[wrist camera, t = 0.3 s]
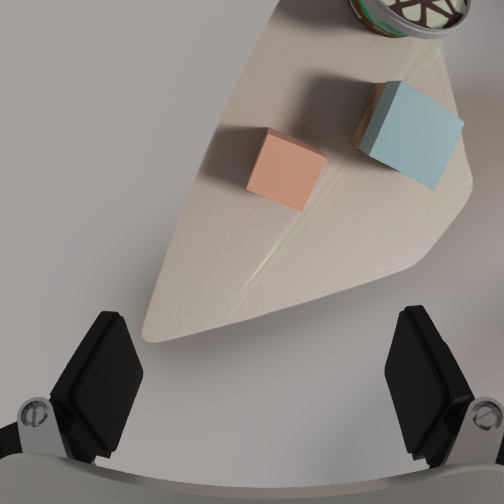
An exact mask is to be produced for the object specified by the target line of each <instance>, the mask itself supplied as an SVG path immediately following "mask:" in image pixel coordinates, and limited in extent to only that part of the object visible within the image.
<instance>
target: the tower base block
mask: <svg viewBox="0 0 504 504" xmlns="http://www.w3.org/2000/svg"><path fill="white" fill-rule="evenodd" d="M385 85H386V83H375V85H374V87H373V90H372V92H371V94H370V97H369V99H368V101H367V104H366V106H365V108H364V111H363V113H362V115H361V118H360V120H359V122H358V124H357V127H356V129H355V131H354V133H353V136H352V138H351V140H350V142H349V144H350V145H351V146H353V147H354V148H356V149H357V150H359V151H361V150H360V149H358V147H359V145H360V143H361V140H362V138H363V136H364V134H365V131H366V129H367V127H368V125H369V122H370V120H371V118H372V115H373V113H374V111H375V108H376V106H377V104H378V101H379V99H380V97H381V94H382V92H383V89H384V87H385ZM361 152H363V151H361ZM363 153H364V152H363ZM365 154H366V153H365Z"/></svg>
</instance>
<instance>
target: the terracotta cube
mask: <svg viewBox="0 0 504 504" xmlns="http://www.w3.org/2000/svg"><path fill="white" fill-rule="evenodd" d="M325 160H326V157H325V155H324V154H323V153H322V152H321V151H320V149H319V148H318V147H315V146H313V145H311V144H308V143H306V142H304V141H301V140H299V139H296V138H294V137H291V136H289V135H287V134H284V133H281V132H279V131H276V130H274V129H271V128H268V130H267V133H266V135H265V138H264V140H263V143H262V145H261V148H260V150H259V153H258V155H257V158H256V160H255V163H254V165H253V168H252V171H251V173H250V176H249V180H248V184H247V187H246V190H248V191H250V192H253V193H256V194H258V195H261V196H264V197H266V198H269V199H272V200H274V201H277V202H279V203H282V204H284V205H287V206H290V207H292V208H295V209H297V210H300V211H302V210H303V208H304V206H305V204H306V201H307V199H308V197H309V195H310V193H311V191H312V189H313V186H314V184H315V182H316V180H317V178H318V176H319V173H320V171H321V169H322V167H323V165H324V162H325Z"/></svg>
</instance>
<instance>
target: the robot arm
mask: <svg viewBox="0 0 504 504" xmlns="http://www.w3.org/2000/svg"><path fill="white" fill-rule="evenodd" d="M142 378H143V369H142V366H141V364H140V361H139V358H138V356H137V353H136V351H135V348H134V345H133V343H132V340H131V337H130V334H129V332H128V329H127V326H126V323H125V320H124V318H123V317H122V316H120V315H119V313H118V312H111V311H102V312H101V313H100V314H99V316H98V317H97V319H96V320H95V322H94V323H93V325H92V326H91V328H90V329H89V331H88V332H87V334H86V335H85V337H84V339H83V340H82V342H81V343H80V345H79V347H78V348H77V350H76V351H75V353H74V355H73V356H72V358H71V359H70V361H69V363H68V364H67V366H66V368H65V369H64V371H63V373H62V374H61V376H60V378H59V379H58V381H57V383H56V385H55V386H54V388H53V390H52V392H51V393H50V395H51V398H50V399H49V401H48V400H47V399H45V398H42V397H35V398H31V399H30V400H28V401H26V402H25V403H24V404H23V405H22V406H21V408H20V409H19V411H18V414H17V422H14V423H12V424H10V425H8V426H5V427H3V428H1V429H0V504H504V407H503V406H502V405H501V404H500V403H499V402H498V401H497V400H495V399H493V398H490V397H480V398H477V399H475V398H474V396H473V393H472V391H471V390H470V388H469V385H468V383H467V381H466V379H465V377H464V375H463V374H462V371H461V370H460V368H459V366H458V364H457V362H456V360H455V358H454V356H453V355H452V353H451V351H450V349H449V347H448V345H447V344H446V343H445V342H444V341H443V340H442V338H441V336H440V334H439V332H438V331H437V329H436V327H435V326H434V324H433V322H432V320H431V319H430V317H429V315H428V314H427V312H426V310H425V308H424V307H423V306H422V305H416V306H407V307H405V309H404V311H401V312H400V313H399V317H398V321H397V325H396V329H395V333H394V337H393V340H392V344H391V347H390V351H389V354H388V358H387V361H386V365H385V378H386V381H387V384H388V387H389V390H390V393H391V397H392V400H393V403H394V407H395V410H396V414H397V417H398V420H399V424H400V428H401V431H402V435H403V439H404V442H405V446H406V450H407V452H408V453H409V454H410V453H412V456H413V459H414V461H415V460H419V459H423V458H425V459H426V462H427V464H428V466H427V468H426V469H425V470H421V471H417V472H412V473H407V474H403V475H397V476H392V477H386V478H380V479H373V480H367V481H360V482H353V483H345V484H335V485H324V486H311V487H292V488H291V487H289V488H246V487H226V486H212V485H201V484H192V483H183V482H175V481H169V480H162V479H156V478H151V477H145V476H140V475H135V474H130V473H125V472H121V471H116V470H112V469H108V468H103V467H99V466H96V463H95V461H94V460H95V457H96V455H97V456H102V457H105V458H110V456H111V453H112V452H114V451H115V450H116V449H117V446H118V444H119V441H120V438H121V435H122V432H123V429H124V427H125V424H126V421H127V418H128V416H129V413H130V410H131V408H132V405H133V402H134V400H135V397H136V394H137V392H138V389H139V386H140V384H141V381H142Z"/></svg>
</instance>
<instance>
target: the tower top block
mask: <svg viewBox="0 0 504 504" xmlns="http://www.w3.org/2000/svg"><path fill="white" fill-rule="evenodd" d="M464 123H465V122H463V121H462V120H461V119H459V118H458V117H457V116H455V115H454V114H452V113H451V112H449V111H448V110H447V109H445V108H444V107H442V106H441V105H439V104H438V103H436V102H435V101H433V100H432V99H430V98H429V97H427V96H425V95H424V94H422V93H421V92H419V91H417V90H416V89H414V88H412V87H411V86H409V85H407V84H406V83H404V82H402V81H387V82H386V85H385V87H384V89H383V92H382V94H381V97H380V99H379V101H378V104H377V106H376V108H375V111H374V113H373V115H372V118H371V120H370V122H369V125H368V127H367V129H366V131H365V134H364V136H363V138H362V140H361V143H360V145H359V147H358V149H360V150H361V151H363V152H364V153H366V154H367V155H368V156H370V157H372V158H374V159H376V160H378V161H380V162H382V163H384V164H386V165H388V166H390V167H392V168H394V169H396V170H398V171H400V172H402V173H404V174H405V175H407V176H409V177H411V178H413V179H415V180H416V181H418V182H420V183H422V184H423V185H425V186H427V187H429V188H431V189H432V190H434V189H435V187H436V185H437V183H438V181H439V179H440V177H441V174H442V172H443V170H444V168H445V166H446V164H447V162H448V160H449V157H450V155H451V153H452V151H453V148H454V146H455V144H456V142H457V139H458V137H459V135H460V132H461V130H462V127H463V125H464Z"/></svg>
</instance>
